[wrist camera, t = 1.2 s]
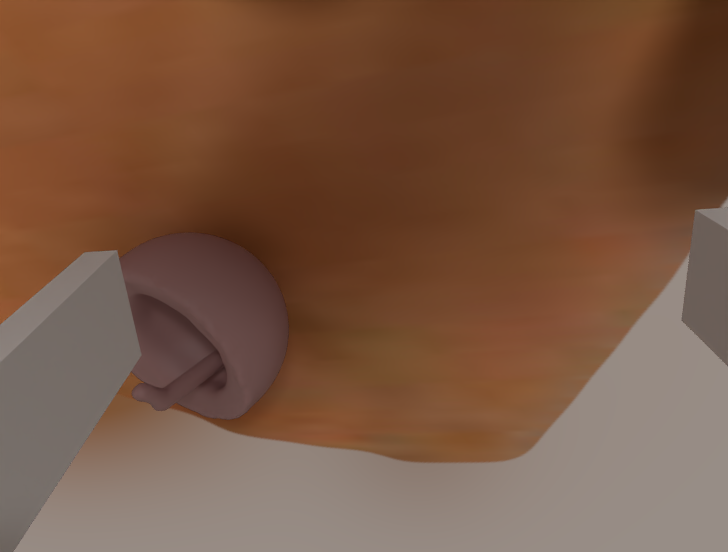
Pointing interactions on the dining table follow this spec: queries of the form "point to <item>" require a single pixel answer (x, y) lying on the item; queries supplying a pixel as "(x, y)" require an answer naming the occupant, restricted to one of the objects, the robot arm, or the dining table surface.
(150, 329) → the mortar and pestle
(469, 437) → the dining table surface
